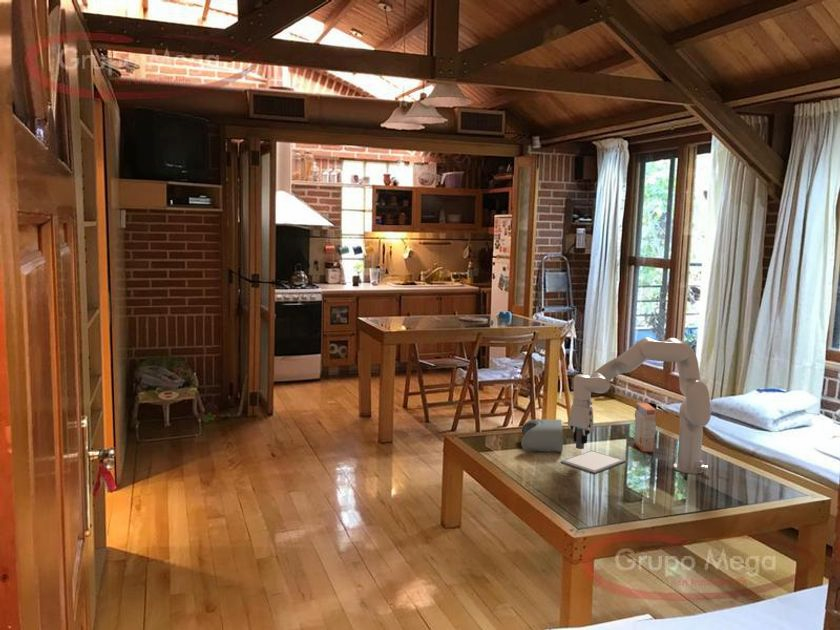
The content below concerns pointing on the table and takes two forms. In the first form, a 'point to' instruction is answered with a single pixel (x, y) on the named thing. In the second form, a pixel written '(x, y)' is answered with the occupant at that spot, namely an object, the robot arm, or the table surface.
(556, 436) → the grey rounded block
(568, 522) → the table surface
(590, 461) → the notepad
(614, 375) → the robot arm
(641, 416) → the cracker box
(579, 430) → the marker
